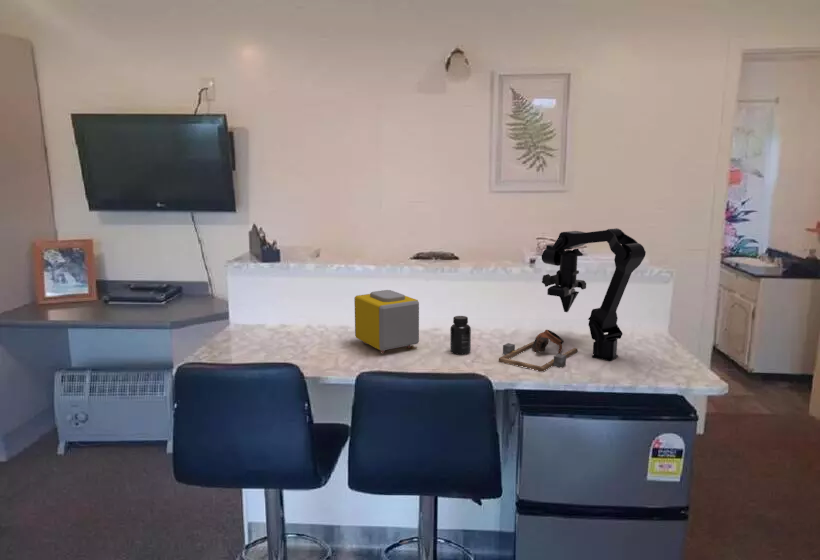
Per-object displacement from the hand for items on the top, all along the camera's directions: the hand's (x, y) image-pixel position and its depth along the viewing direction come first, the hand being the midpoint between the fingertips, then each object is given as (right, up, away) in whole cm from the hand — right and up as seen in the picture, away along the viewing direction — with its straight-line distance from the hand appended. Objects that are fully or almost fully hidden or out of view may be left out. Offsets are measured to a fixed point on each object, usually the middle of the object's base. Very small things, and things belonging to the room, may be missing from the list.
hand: (566, 311), depth 208 cm
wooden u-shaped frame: (-12, -14, -12) cm, 22 cm away
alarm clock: (-62, -12, 0) cm, 63 cm away
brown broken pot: (-9, -13, -7) cm, 17 cm away
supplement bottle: (-37, -13, -7) cm, 40 cm away
